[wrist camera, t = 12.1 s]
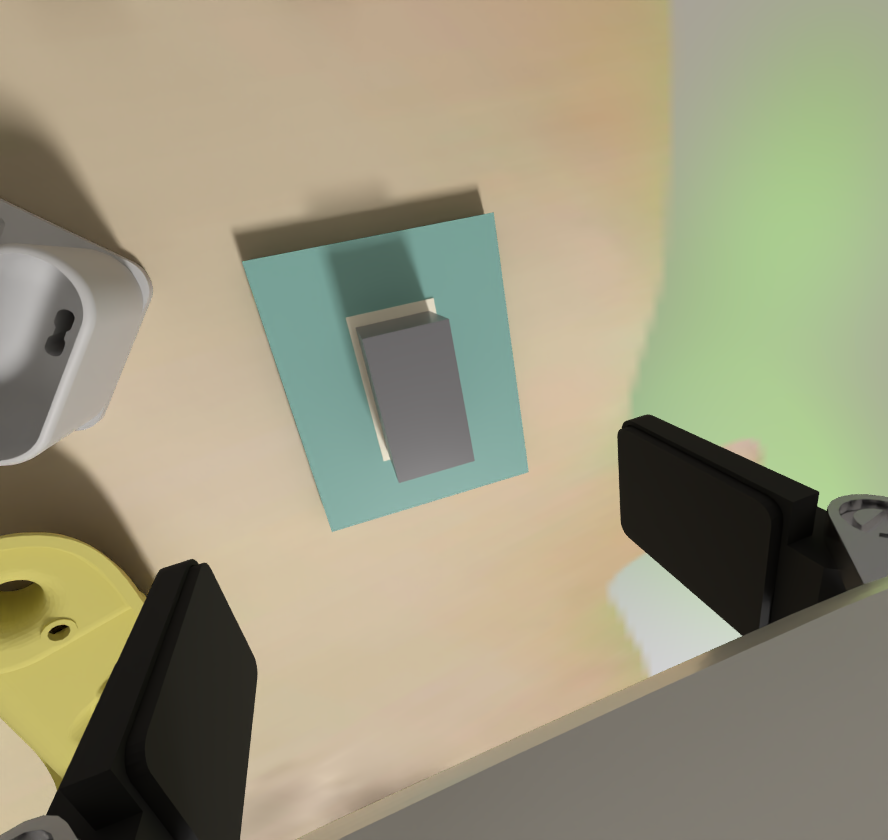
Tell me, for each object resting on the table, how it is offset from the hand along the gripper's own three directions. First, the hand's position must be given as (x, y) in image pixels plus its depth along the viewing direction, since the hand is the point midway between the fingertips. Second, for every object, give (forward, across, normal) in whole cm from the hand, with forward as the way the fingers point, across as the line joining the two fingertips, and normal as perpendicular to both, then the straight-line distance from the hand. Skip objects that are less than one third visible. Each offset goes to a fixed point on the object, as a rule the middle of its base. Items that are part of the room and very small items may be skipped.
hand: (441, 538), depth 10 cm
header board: (+20, -3, +2) cm, 20 cm away
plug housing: (+18, -3, +2) cm, 18 cm away
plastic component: (+20, +21, +13) cm, 32 cm away
